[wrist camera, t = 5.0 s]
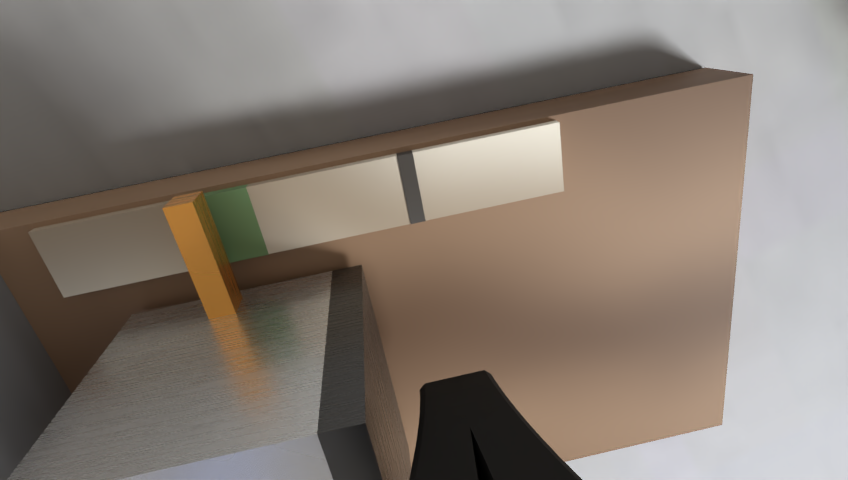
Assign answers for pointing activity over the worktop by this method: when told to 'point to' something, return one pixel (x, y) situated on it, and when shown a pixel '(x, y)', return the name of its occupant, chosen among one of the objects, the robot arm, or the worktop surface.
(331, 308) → the gauge carriage
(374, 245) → the gauge board
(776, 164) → the worktop surface
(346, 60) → the worktop surface
